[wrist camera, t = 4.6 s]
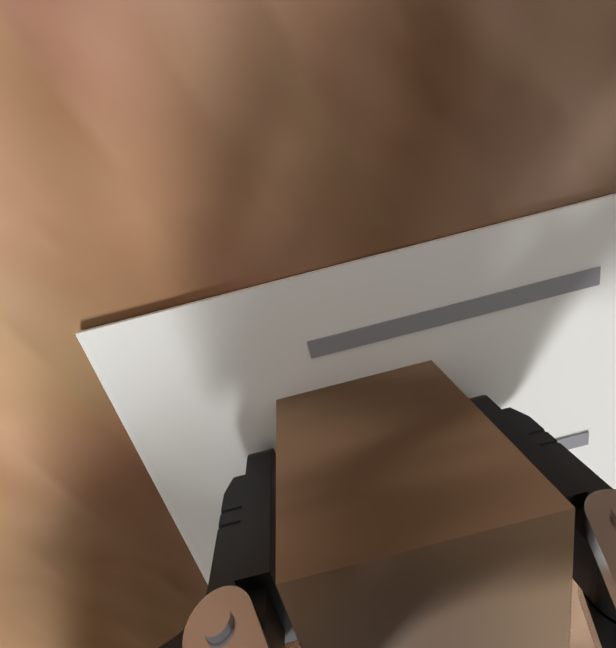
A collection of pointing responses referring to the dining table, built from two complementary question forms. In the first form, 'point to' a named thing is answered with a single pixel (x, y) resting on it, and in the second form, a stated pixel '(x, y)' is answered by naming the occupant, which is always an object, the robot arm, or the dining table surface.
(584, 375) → the letter
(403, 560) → the walnut block
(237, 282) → the dining table surface
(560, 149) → the dining table surface
